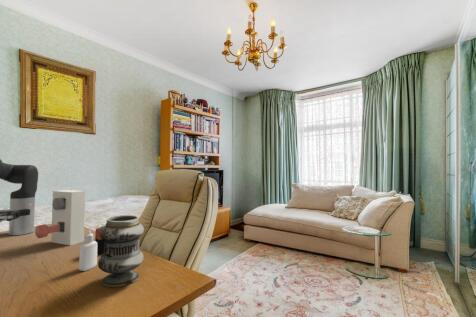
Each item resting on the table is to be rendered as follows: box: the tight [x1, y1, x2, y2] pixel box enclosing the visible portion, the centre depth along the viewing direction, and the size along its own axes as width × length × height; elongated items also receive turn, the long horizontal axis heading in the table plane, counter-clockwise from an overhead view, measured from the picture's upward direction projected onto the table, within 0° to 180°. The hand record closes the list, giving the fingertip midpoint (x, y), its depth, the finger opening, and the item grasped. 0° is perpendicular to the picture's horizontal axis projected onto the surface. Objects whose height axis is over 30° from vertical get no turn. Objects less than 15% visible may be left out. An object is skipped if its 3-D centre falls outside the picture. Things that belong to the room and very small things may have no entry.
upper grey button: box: [52, 198, 65, 210], centre depth 106 cm, size 7×5×5 cm
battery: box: [94, 225, 105, 256], centre depth 95 cm, size 4×7×10 cm, turn 138°
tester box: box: [50, 189, 86, 246], centre depth 107 cm, size 6×12×22 cm, turn 69°
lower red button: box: [34, 224, 60, 239], centre depth 100 cm, size 7×5×5 cm
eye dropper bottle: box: [78, 230, 98, 272], centre depth 80 cm, size 4×6×12 cm
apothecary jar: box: [97, 214, 145, 288], centre depth 72 cm, size 12×12×18 cm
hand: (28, 211), depth 93 cm, fingers closed
